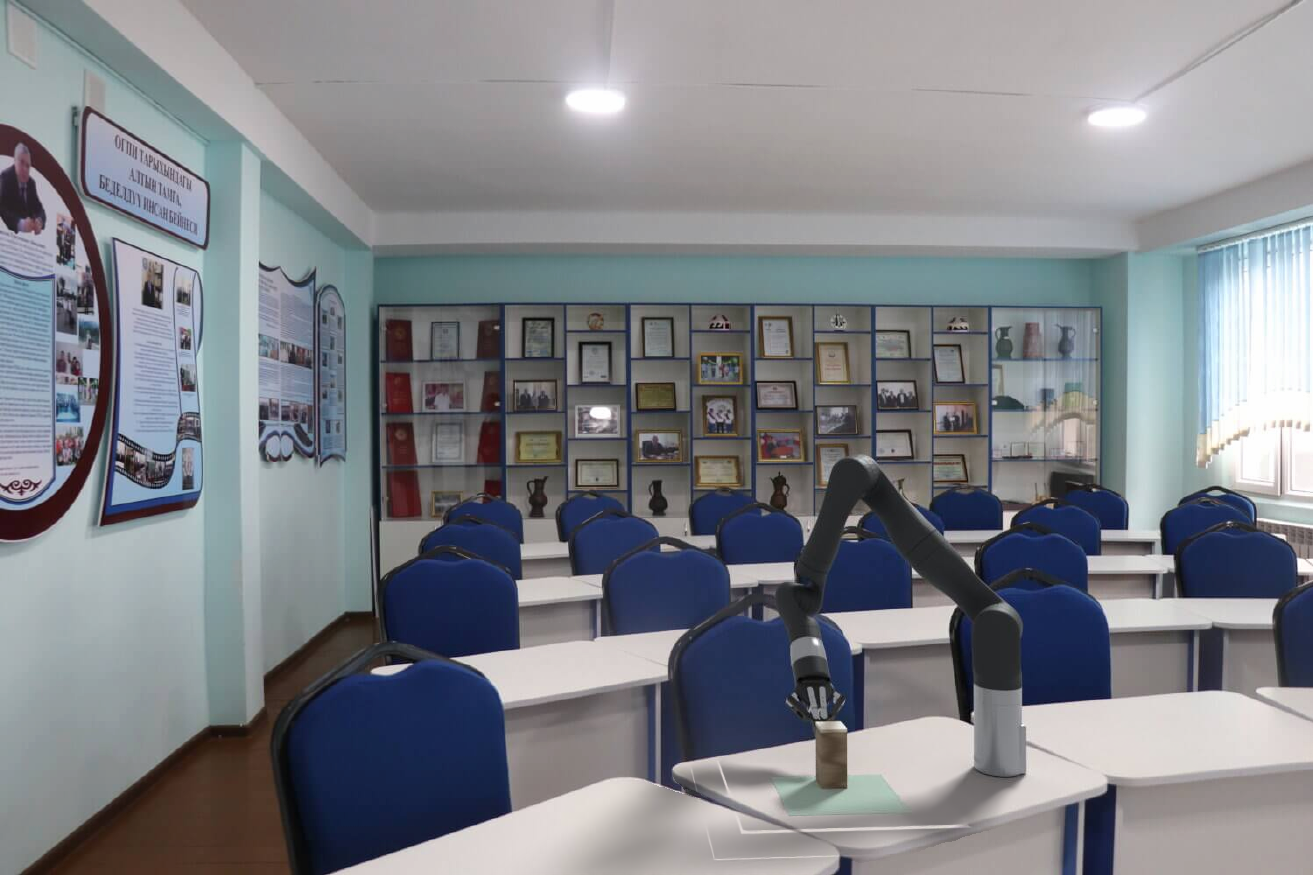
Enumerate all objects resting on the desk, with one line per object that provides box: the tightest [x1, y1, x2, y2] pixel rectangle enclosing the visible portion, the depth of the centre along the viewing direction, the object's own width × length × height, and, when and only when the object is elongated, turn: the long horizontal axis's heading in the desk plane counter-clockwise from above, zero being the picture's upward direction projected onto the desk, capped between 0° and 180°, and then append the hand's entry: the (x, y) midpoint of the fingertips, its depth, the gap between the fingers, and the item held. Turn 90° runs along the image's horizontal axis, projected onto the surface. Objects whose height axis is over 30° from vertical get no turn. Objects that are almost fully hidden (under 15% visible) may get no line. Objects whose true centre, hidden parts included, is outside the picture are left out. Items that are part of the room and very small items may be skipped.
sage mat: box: [770, 773, 912, 817], centre depth 182 cm, size 22×19×1 cm
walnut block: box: [815, 720, 848, 789], centre depth 187 cm, size 5×5×11 cm
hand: (822, 739), depth 194 cm, fingers closed
